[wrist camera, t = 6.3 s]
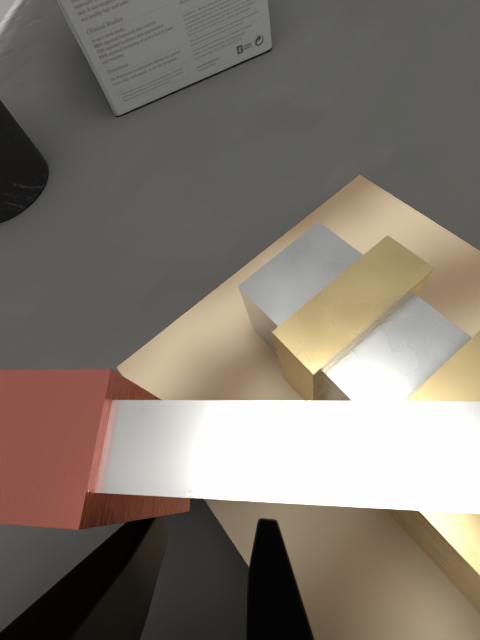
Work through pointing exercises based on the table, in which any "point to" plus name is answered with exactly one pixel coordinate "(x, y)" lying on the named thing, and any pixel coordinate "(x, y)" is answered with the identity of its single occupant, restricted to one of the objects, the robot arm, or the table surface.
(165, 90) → the supplement box
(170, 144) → the table surface
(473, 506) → the lever
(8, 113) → the travel mug
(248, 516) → the oak board
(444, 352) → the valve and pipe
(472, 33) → the table surface
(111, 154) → the table surface
